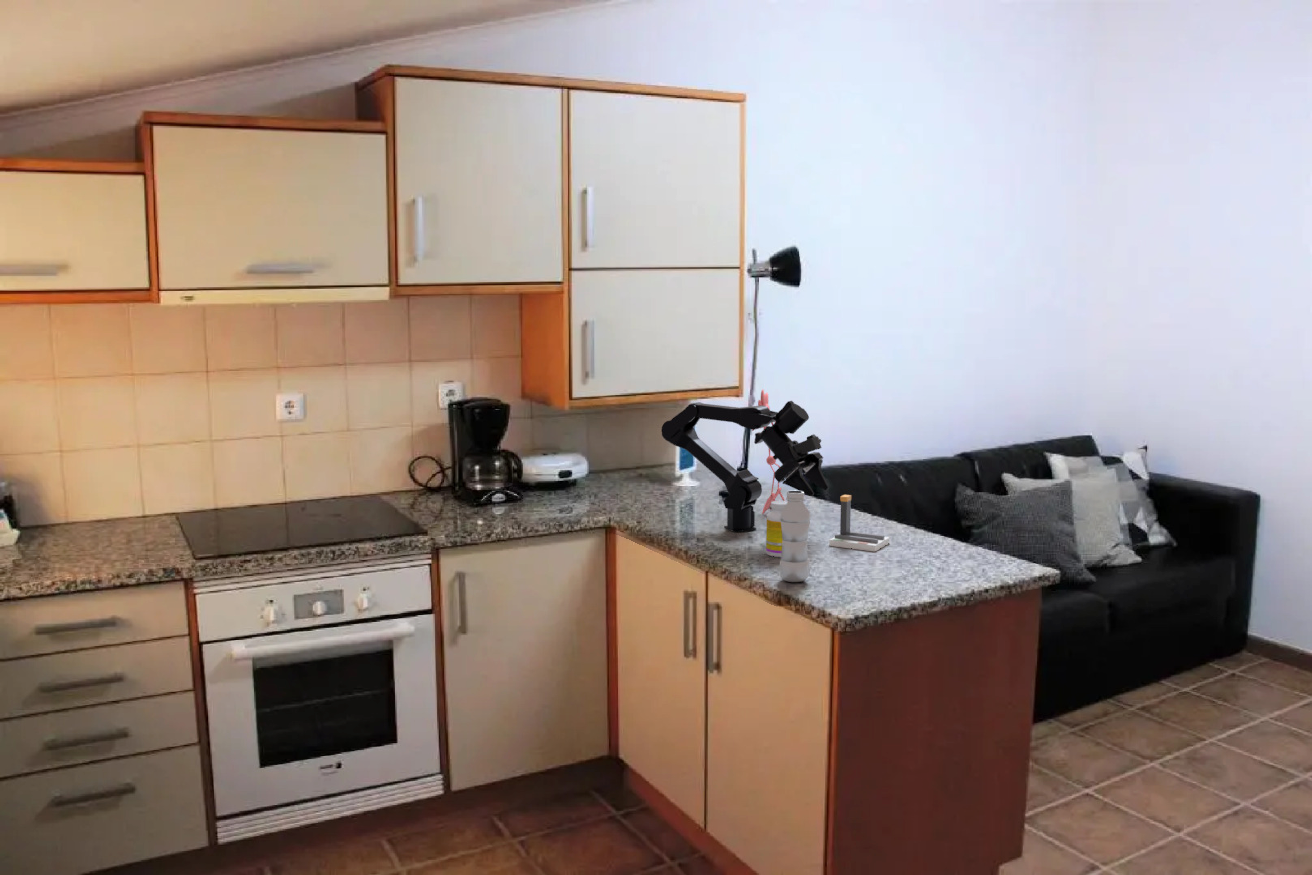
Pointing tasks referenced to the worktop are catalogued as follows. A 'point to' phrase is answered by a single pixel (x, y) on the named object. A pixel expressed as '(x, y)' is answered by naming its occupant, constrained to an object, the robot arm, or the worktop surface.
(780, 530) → the supplement bottle
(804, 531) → the plastic bottle
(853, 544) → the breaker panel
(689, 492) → the worktop surface
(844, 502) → the handle
